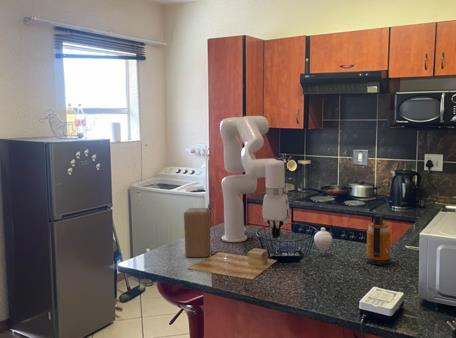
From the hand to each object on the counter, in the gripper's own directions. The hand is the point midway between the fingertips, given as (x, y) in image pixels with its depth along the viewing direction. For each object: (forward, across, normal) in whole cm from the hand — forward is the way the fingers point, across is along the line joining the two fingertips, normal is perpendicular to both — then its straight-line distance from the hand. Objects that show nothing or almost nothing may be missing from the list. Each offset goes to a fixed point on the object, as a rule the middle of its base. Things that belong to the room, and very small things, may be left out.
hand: (276, 237), depth 178 cm
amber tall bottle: (+12, -36, -20) cm, 43 cm away
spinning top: (+12, -13, -21) cm, 28 cm away
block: (+12, +37, 0) cm, 39 cm away
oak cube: (+12, +8, 0) cm, 14 cm away
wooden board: (+12, +16, +6) cm, 21 cm away
